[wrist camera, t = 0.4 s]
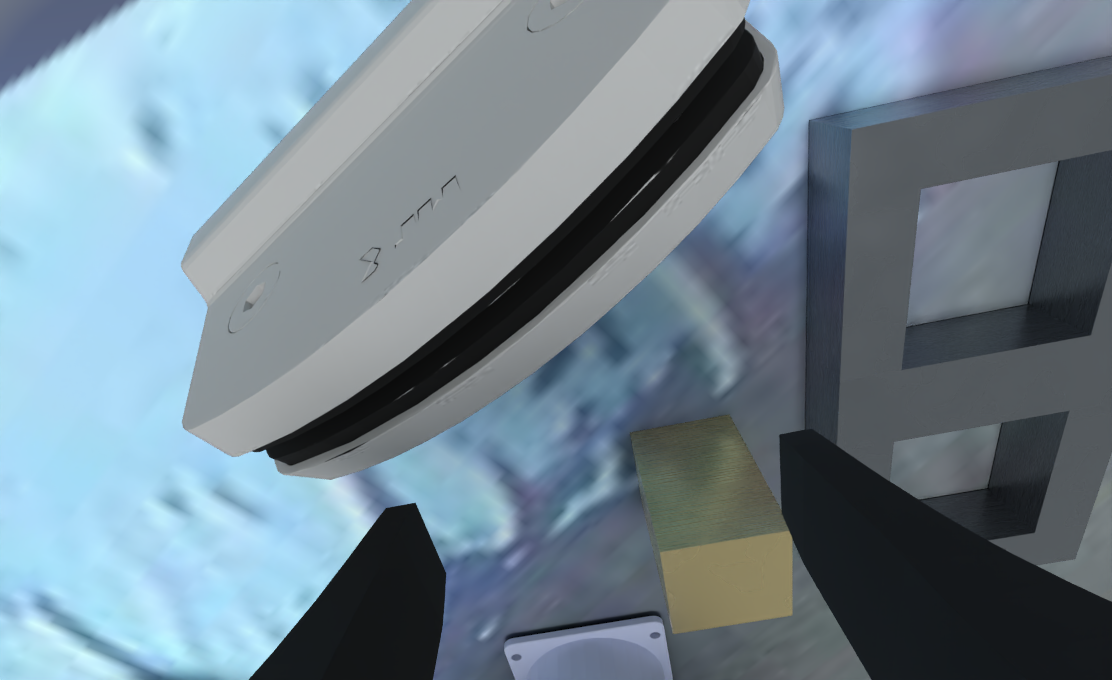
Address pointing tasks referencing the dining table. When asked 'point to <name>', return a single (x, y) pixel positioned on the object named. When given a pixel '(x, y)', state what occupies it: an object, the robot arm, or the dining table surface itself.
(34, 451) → the dining table surface
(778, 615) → the tan rectangular block
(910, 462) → the dining table surface
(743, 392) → the dining table surface
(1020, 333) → the grey peg hole base
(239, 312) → the grey piece
